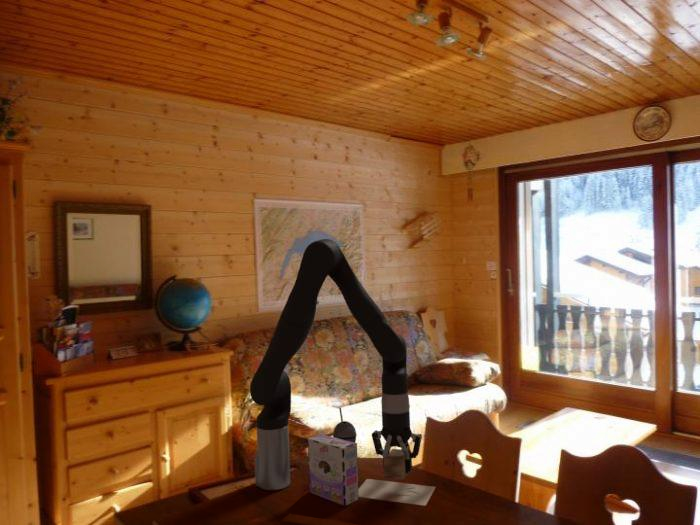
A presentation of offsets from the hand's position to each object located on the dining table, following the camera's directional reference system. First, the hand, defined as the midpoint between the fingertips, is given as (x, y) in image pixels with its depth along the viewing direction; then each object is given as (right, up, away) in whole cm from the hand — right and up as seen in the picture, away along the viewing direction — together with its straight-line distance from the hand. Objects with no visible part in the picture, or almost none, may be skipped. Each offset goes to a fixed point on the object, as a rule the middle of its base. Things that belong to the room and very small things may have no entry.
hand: (397, 470), depth 149 cm
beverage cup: (-14, -8, +19) cm, 25 cm away
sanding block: (0, 0, 0) cm, 0 cm away
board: (-1, -7, +1) cm, 7 cm away
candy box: (-17, -8, -1) cm, 19 cm away
